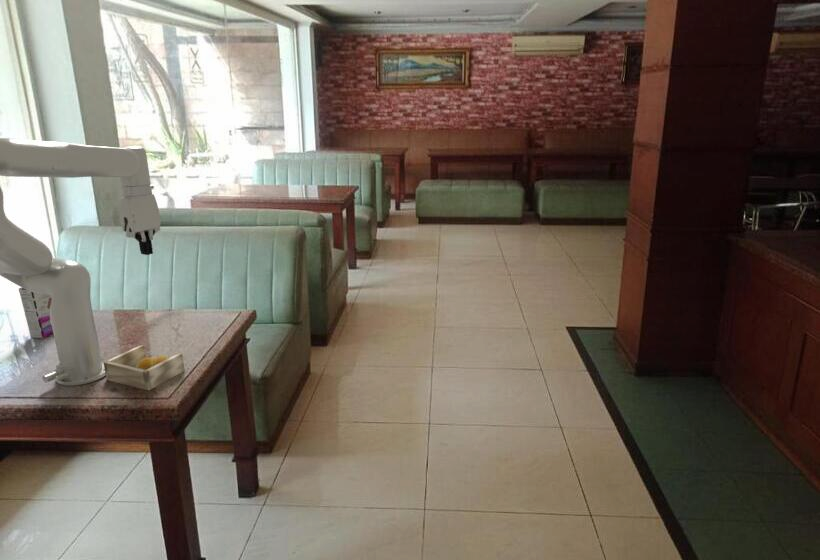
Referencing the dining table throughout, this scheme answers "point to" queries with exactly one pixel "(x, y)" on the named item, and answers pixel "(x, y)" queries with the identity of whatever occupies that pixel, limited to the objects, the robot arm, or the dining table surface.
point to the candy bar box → (37, 313)
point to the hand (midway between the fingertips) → (147, 253)
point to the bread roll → (150, 362)
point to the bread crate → (128, 374)
